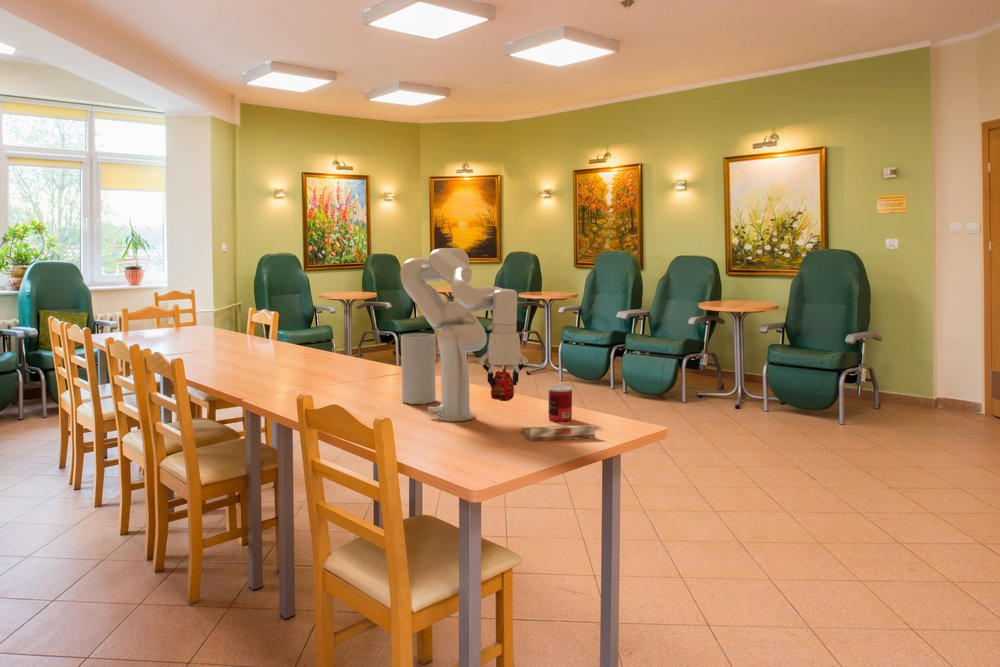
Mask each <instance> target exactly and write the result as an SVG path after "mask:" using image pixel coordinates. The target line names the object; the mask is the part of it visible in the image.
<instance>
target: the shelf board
mask: <svg viewBox="0 0 1000 667" xmlns="http://www.w3.org/2000/svg"><path fill="white" fill-rule="evenodd" d="M595 427H596V426H595V425H594V424H591V425H584V424H576V425H574V424H572V425H552V426H533V427H531V426H530V427H521V432H522V433H523V435H524V436H525V435H526V436H525V437H526V438H527V439H528V440H529V441H530V442H541V441H542V442H543V441H548V442H549V441H563V440H564V441H565V439H567V440H576V439H575V438H585V439H592V438H591V437H595V436H596V434H595V433H596V432H595V430H596V429H595Z"/></svg>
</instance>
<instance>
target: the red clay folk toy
mask: <svg viewBox="0 0 1000 667" xmlns="http://www.w3.org/2000/svg"><path fill="white" fill-rule="evenodd" d="M512 379H513V376H511V373H510V372H507V370H506V366H503V369H502V370H501V371H498V370H497V371H496V372H495V374H494V376H493V385H492V386H491V385H490V388H491V390H490V396H491V399H493V400H499V401H500V402H510V401H511V400H512V399H513V398H514V396H515V385H514V383H513V380H512Z"/></svg>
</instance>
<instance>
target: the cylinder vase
mask: <svg viewBox="0 0 1000 667" xmlns="http://www.w3.org/2000/svg"><path fill="white" fill-rule="evenodd" d="M400 354H401V356H400V357H401V358H400V361H401V362H400V363H401V364H400V365H401V401H402V402H403V403H404V402H405V404H406V403H409V404H408V405H413V404H421V405H427V403H429V404H432V403H434V402H435V401H436V399H437V398H436V396H437V395H436V394H437V393H436V336H435V334H433V333H422V332H421V333H418V332H417V333H405V334H404V333H403V334H402V335H400Z"/></svg>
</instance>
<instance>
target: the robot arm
mask: <svg viewBox="0 0 1000 667" xmlns="http://www.w3.org/2000/svg"><path fill="white" fill-rule="evenodd" d="M469 265H470V258H469V255H468V253H467V252H466V251H465V250H464V249H462V248H458V247H450V248H449V247H448V248H447V247H445V248H444V247H442V248H441V247H440V248H437V249H433V250H432V251H431V252H430V254H429V255H428V257H414V258H413V257H412V258H409V259H407V260H406V261H404V262H403V263H402V265H401V268H400V273H399V274H400V280H401V284H402V287H403V289H404V290H405V292H406V293H407V295H408V296H409V297H410V299H412V300H413V302H414V303H415V304H416V306H417V307H418V309H419V310H420V312H421V313H422V315H423V316H424V318H425V319H426V321H427V323H429V325H430V327H431V328H432V329H434V330H437V331H439V333H438V335H437V345H438V350H439V355H440V356H439V357H440V373H441V374H440V376H441V377H440V378H441V382H440V384H441V385H440V386H441V388H440V389H441V394H440V395H441V403H439V405H437V406H428V407H427V413H432V414H436V418H437V420H439V419H440V421H442V420H445V421H444V422H450V421H459V422H467V421H470V420H473V419H474V418H475V413H474V412H472V411H470V365H469V361H468V359H467V357H466V355H465V353H470V352H471V353H472V352H476V351H477V352H478V351H480V350H482V349H483V348H484V347H485V346H486V344H487V351H486V352H485V353H484V354H483V355H482V356H481V357H480V358H478V359H477V361H478V363H479V364H480V365H481V366H482V368H483V369H484V370H485V371H486V372H487V383H488V384H489V385H490V387H491V386H492V385H493V378H494V373H493V371H494V369H495V366H496V367H497V366H498V367H499V366H500V367H501V366H502V367H504V366H505V367H506V366H507V367H508V366H510V367H511V366H512V368H513V371H512V380H513V383H514V386H517V383H519V376H520V375H519V373H521V371H522V370H523V369H524V367H525V366H526V365H527V364H528V363H529V361H530V360H529V359H528V358H527V357H526V356H525V355H524V354H523V353H522V352H521V340H520V334H519V333H518V332H517V320H518V318H517V317H518V316H517V313H518V312H517V311H518V292H517V291H516V290H515V289H509V288H508V289H507V288H501V287H499V286H477V287H475V286H473V285H471V284H469V283H470V282H471V280H472V278H473V270H472V268H471V266H469ZM441 281H446V283H448V284H449V285H451V286H450V289H451V293H452V296H453V298H454V299H455V301H446V300H445V299H443V298H442V296H441V294H439V292H438V291H437V289H435V288H434V287H433V286H432V285H430V284H428V283H427V282H430V283H431V282H441ZM485 311H492V322H491V324H488V325H487V330H490V331H491V332H490V333H489V337H488V343H487V333H486V330H485V328H484V327H483V325H482V324H481V322H480V321H479V319H478V317H477V316H476V315H475V314H474V312H485ZM521 360H522V361H521ZM485 361H487V362H488V364H486V363H485Z"/></svg>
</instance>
